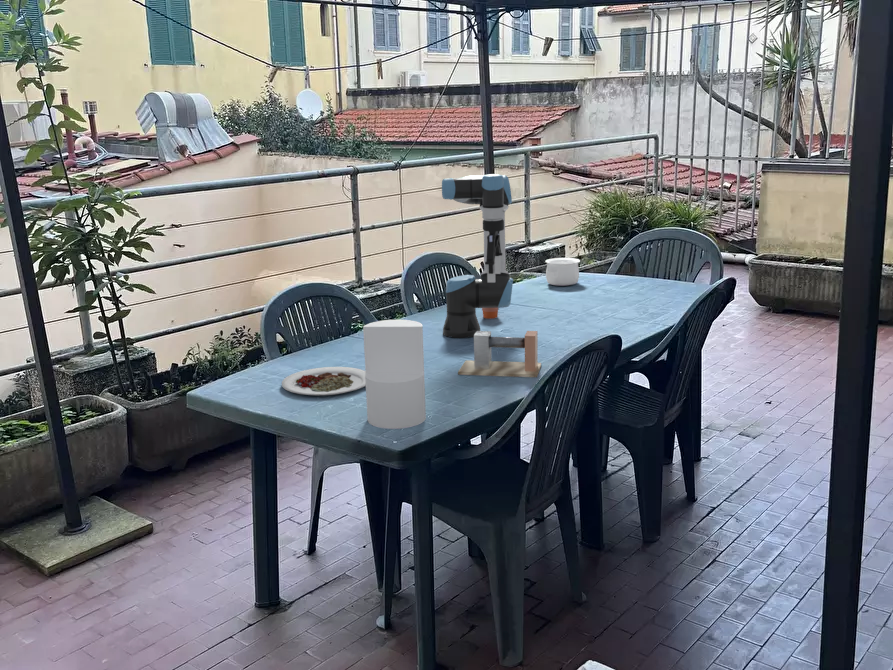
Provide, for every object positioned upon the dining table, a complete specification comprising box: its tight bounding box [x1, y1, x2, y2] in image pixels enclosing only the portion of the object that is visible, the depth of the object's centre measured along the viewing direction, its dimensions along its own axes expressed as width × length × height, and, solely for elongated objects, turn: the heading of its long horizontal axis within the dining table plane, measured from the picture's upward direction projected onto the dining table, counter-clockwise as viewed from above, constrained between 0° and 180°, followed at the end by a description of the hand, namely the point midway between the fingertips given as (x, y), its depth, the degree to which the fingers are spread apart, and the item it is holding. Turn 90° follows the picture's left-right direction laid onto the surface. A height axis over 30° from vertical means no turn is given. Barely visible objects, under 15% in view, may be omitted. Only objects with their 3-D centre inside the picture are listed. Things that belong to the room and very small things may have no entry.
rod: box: [489, 336, 525, 349], centre depth 298 cm, size 18×4×4 cm, turn 78°
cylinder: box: [362, 319, 427, 430], centre depth 253 cm, size 17×17×28 cm
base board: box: [457, 359, 542, 378], centre depth 301 cm, size 27×14×1 cm, turn 78°
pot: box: [545, 257, 581, 286], centre depth 440 cm, size 22×17×12 cm
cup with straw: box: [481, 308, 500, 320], centre depth 375 cm, size 9×9×18 cm
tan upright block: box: [524, 330, 539, 371], centre depth 297 cm, size 4×7×12 cm, turn 168°
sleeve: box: [473, 330, 493, 369], centre depth 301 cm, size 5×6×12 cm
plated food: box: [281, 366, 366, 396], centre depth 291 cm, size 30×30×3 cm
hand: (494, 278), depth 312 cm, fingers open, 13 cm apart
